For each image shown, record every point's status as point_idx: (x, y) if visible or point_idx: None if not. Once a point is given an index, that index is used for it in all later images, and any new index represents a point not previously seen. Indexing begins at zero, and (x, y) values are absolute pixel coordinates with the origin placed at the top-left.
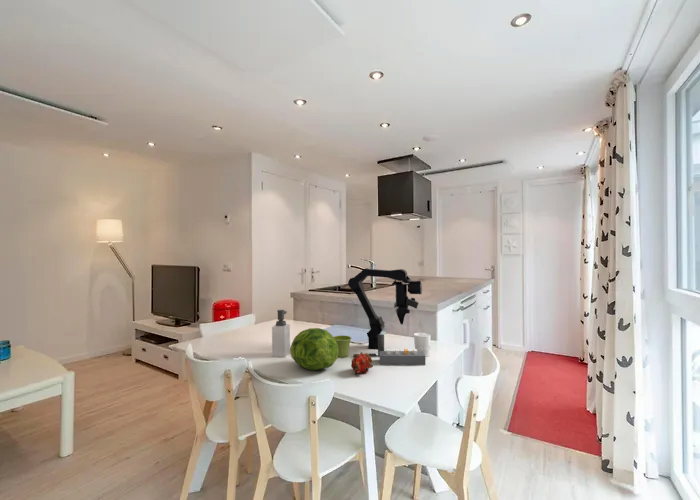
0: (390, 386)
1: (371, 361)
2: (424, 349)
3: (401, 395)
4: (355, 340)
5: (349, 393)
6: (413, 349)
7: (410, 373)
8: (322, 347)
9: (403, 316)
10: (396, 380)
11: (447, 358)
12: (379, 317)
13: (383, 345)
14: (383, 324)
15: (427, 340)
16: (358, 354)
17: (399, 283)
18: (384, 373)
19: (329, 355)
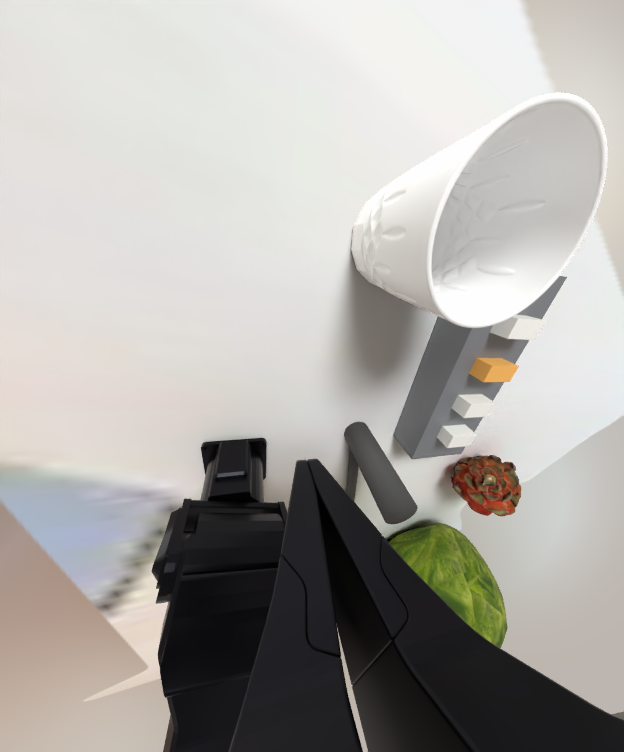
0: (571, 406)
1: (500, 469)
2: (466, 238)
3: (618, 387)
4: (122, 531)
5: (543, 467)
6: (517, 337)
7: (544, 350)
8: (499, 589)
9: (409, 589)
10: (555, 392)
11: (510, 46)
12: (236, 679)
13: (387, 459)
14: (206, 566)
15: (547, 200)
16: (354, 494)
17: None
18: (501, 418)
19: (478, 555)
